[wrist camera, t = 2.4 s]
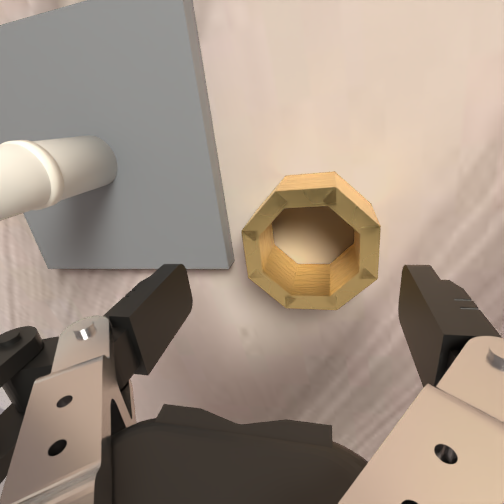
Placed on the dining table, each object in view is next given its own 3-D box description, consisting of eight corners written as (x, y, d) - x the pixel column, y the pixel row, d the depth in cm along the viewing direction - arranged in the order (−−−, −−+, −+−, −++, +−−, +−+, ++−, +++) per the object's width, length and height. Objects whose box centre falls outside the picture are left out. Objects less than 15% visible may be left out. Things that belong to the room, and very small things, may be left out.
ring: (372, 168, 15) (382, 183, 12) (367, 276, 18) (375, 311, 14) (253, 178, 17) (236, 193, 14) (264, 275, 19) (252, 307, 16)
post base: (189, -16, 14) (-83, -257, 5) (234, 260, 19) (150, 392, 10) (-31, 44, 17) (-421, -26, 8) (61, 261, 23) (-112, 359, 14)
